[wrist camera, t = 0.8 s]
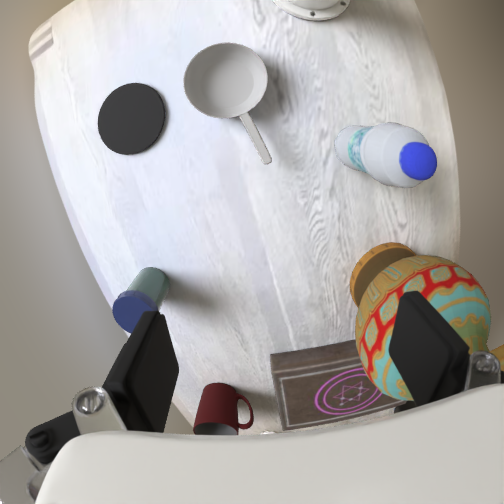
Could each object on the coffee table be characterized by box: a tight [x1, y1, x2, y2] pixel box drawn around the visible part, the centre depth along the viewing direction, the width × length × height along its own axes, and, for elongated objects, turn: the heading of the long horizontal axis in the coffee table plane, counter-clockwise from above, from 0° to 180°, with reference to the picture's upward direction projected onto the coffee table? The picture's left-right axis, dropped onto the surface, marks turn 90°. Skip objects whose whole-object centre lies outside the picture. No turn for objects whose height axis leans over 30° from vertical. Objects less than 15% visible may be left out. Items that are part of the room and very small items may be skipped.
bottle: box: [334, 123, 437, 188], centre depth 29 cm, size 7×7×20 cm
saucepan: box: [184, 43, 272, 164], centre depth 34 cm, size 11×18×4 cm, turn 26°
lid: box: [112, 290, 159, 333], centre depth 38 cm, size 7×7×2 cm
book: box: [270, 340, 407, 431], centre depth 54 cm, size 30×22×5 cm
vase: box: [350, 242, 504, 401], centre depth 33 cm, size 20×20×30 cm
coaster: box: [98, 83, 165, 155], centre depth 36 cm, size 11×11×1 cm
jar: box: [126, 267, 170, 311], centre depth 42 cm, size 6×6×9 cm
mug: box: [193, 383, 254, 435], centre depth 52 cm, size 12×9×11 cm
